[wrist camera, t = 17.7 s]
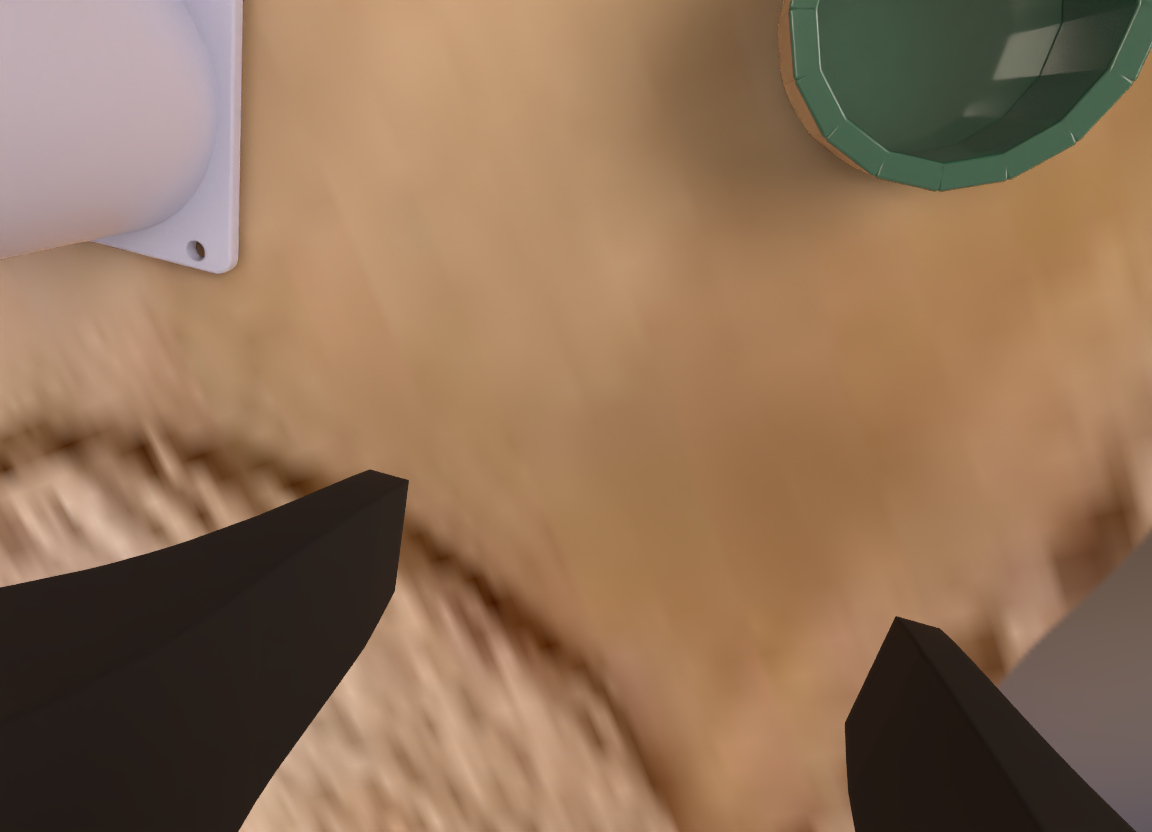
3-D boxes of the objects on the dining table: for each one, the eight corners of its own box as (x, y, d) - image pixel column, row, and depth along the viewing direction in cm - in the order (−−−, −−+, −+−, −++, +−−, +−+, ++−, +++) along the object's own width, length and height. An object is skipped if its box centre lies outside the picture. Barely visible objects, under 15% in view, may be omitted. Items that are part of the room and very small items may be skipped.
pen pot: (743, 140, 17) (748, 149, 14) (831, -170, 15) (860, -246, 11) (1004, 199, 16) (1070, 223, 13) (1137, -112, 14) (1257, -174, 11)
